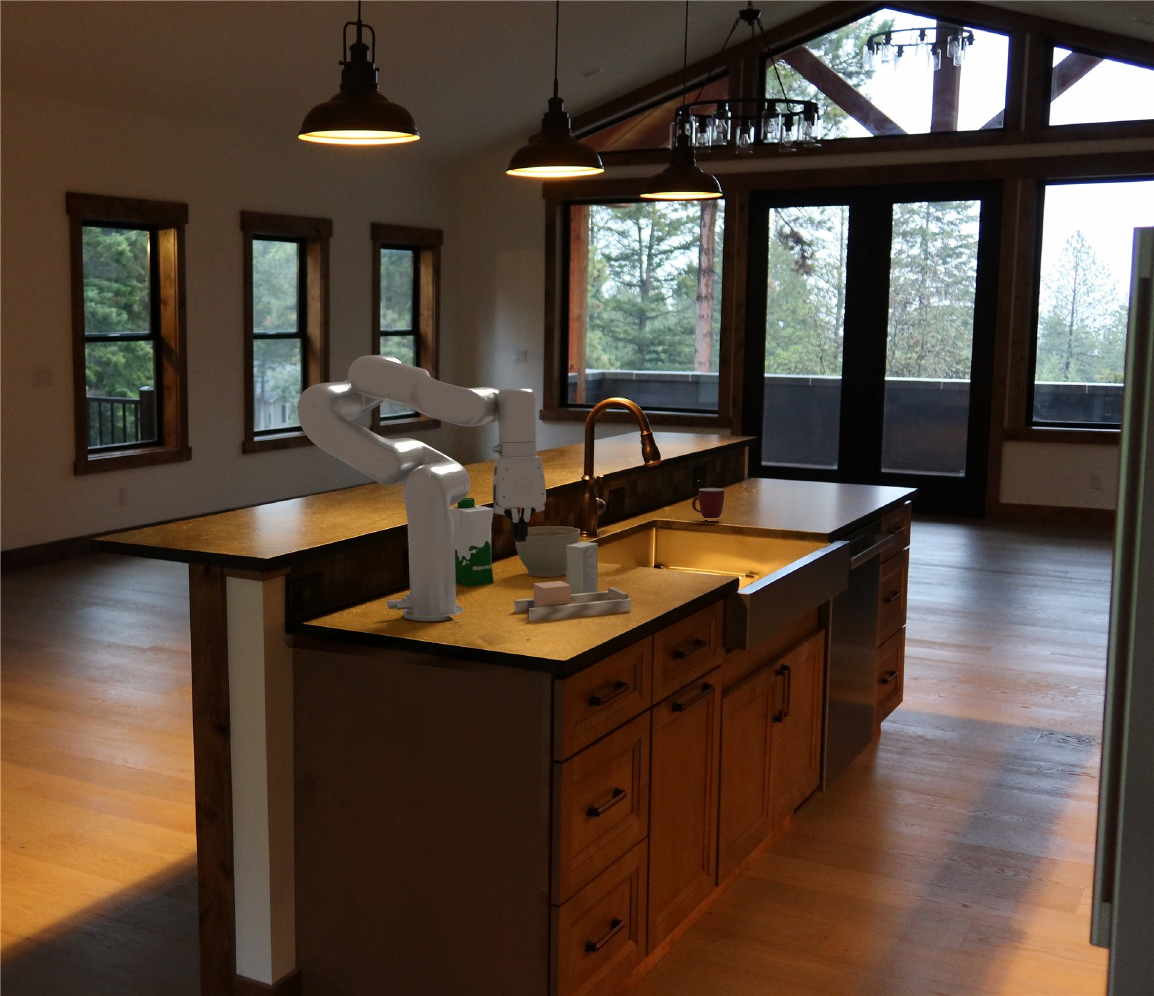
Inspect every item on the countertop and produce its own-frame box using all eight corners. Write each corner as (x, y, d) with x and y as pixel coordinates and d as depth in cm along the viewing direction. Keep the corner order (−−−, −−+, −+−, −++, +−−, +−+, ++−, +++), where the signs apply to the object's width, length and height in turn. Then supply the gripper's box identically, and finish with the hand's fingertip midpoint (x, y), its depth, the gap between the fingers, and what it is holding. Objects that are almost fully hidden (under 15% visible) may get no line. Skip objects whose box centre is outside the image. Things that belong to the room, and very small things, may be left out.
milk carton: (476, 578, 292) (475, 496, 290) (499, 583, 286) (498, 499, 283) (446, 583, 287) (444, 499, 284) (469, 589, 280) (467, 503, 277)
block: (543, 617, 245) (543, 588, 245) (534, 611, 250) (533, 583, 249) (570, 614, 248) (570, 585, 247) (560, 609, 253) (560, 580, 252)
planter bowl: (567, 566, 307) (566, 524, 305) (590, 577, 292) (589, 533, 290) (506, 571, 301) (505, 528, 300) (526, 583, 286) (525, 537, 285)
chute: (531, 626, 242) (530, 604, 241) (514, 616, 251) (513, 595, 251) (630, 616, 250) (630, 594, 250) (611, 606, 260) (610, 586, 259)
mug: (687, 521, 381) (687, 490, 379) (695, 518, 388) (695, 487, 387) (720, 523, 376) (720, 491, 375) (727, 519, 384) (727, 488, 383)
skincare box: (583, 594, 273) (583, 541, 271) (599, 596, 270) (598, 542, 268) (565, 599, 268) (565, 544, 266) (581, 601, 265) (580, 546, 264)
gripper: (488, 453, 236) (490, 546, 238) (559, 449, 241) (561, 540, 244) (476, 450, 243) (478, 541, 245) (545, 447, 248) (547, 535, 251)
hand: (519, 540), depth 244 cm, fingers closed
